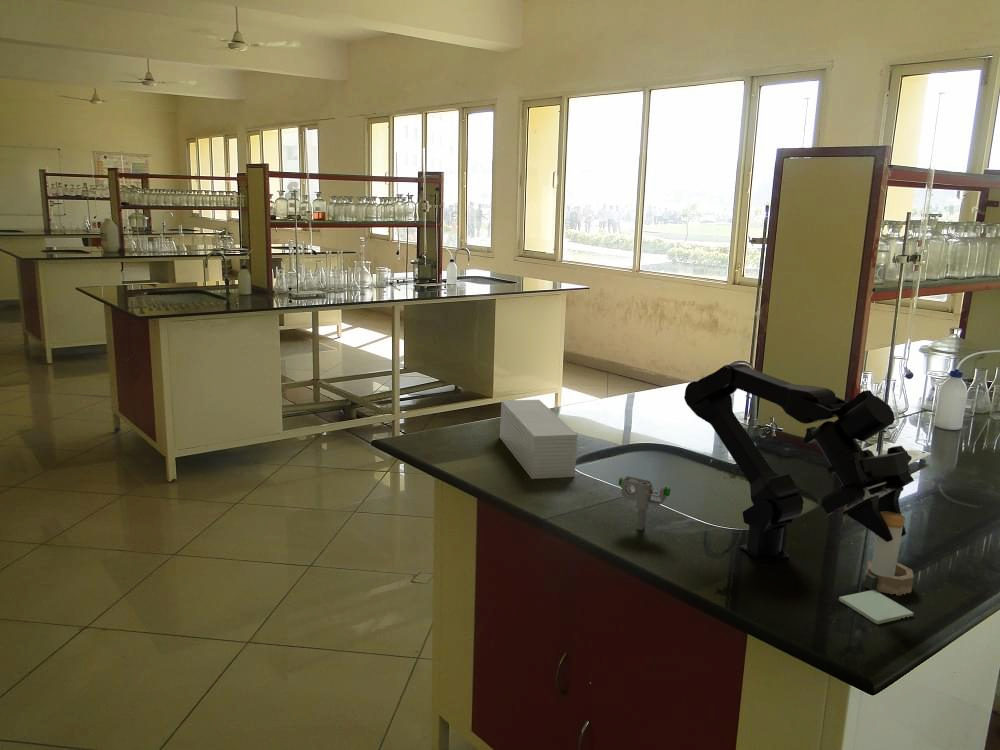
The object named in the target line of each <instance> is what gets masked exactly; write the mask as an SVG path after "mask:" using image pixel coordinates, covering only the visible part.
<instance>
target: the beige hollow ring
mask: <svg viewBox="0 0 1000 750" xmlns="http://www.w3.org/2000/svg"><path fill="white" fill-rule="evenodd" d="M866 564H867V565H866V570H865V579H864V585H863V587H864V588H866V589H867V588H868V591H871V590H875V591H877V592H879V593H885V594H888V593H889V595H893V594H896V595H895V596H903V595H902V594H904V595H907V594H906V593H909V594H911V593H912V589H913V583H914V579H915V576H914V572H913V569H911V568H909V567H907V566H905V565H904V564H902V563H899V562H897V563H896V569H895V575H894V576H893V577H883V576H879V575H876V574H874V573H873V572H872V571H871V564H872V560H867V563H866ZM910 592H911V593H910Z"/></svg>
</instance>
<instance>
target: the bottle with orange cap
mask: <svg viewBox="0 0 1000 750" xmlns="http://www.w3.org/2000/svg"><path fill="white" fill-rule="evenodd" d="M880 513H881V515H882V517H883V519H884V521H885V523H886V525H887V526H888V528H889V530H890V533H891V535H892V537H893V540H891V541H889V542H886V541H885V540H883V539H882V538H881V537H879V536H878V535H876V534H875V535H876V536H875V541H874V545H873V554H872V559H871V561H872V564H871V571H872V572H873V573H874V574H876V575H879V576H883V577H893V576H894V575H895V569H896V563H898V558H899V557H898V556H899V550H900V545H901V539H902V537H901V535H902V529H903V526H904V527H905V521H906V518H905V516H904V515H902V514H901V515H900V514H898V513H895V512H890V511H882V512H880Z"/></svg>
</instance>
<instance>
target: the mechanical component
mask: <svg viewBox="0 0 1000 750" xmlns="http://www.w3.org/2000/svg"><path fill="white" fill-rule="evenodd" d="M618 485H619V486H620V488H621V491H620V492H621V496H623V498H625V499H628V500H631V501H635V502H636V505H635V508H636V509H637V518H636V520H637V521H636V529H637V530H639V531H642V530H644V529H645V527H646V516H647V511H648V510H649V509H650V506H649V505H652V506H660V505H662V503H664V502H665V500H666V499H667V497H669V496H670V494H671V488H669V487H667V485H662V486H661V487H660V489H659V490H656V489H655V487H654V485H653V482H652V481H650V480H647V479H642V478H639V477H633V476H629V475H626V476H625V477H620V478H619V479H618ZM632 487H633V488H634V489H633V488H632ZM655 497H656V498H655Z"/></svg>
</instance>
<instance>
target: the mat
mask: <svg viewBox="0 0 1000 750" xmlns="http://www.w3.org/2000/svg"><path fill="white" fill-rule="evenodd" d="M838 601H839V602H841V603H842V604H844V605H845V606H847V607H849V608H850V609H852V610H854V611H855V612H857V613H858V614H860V615H862V616H864V618H866V619H868V620H869V621H871V622H872V623H874V624H876V625H881V624H884V623H889V622H892V621H898V620H901V618H903V619H906V618H905V617H907V618H911V617H914V612H913V611H911V610H909V609H908V608H906V607H904V606H903V605H901V604H899V603H898V602H896V601H894V600H893V599H891V598H889V597H887V596H886V595H884V594H882V592H879V591H878V590H866V591H861V592H857V593H852V594H847V595H843V596H838ZM910 616H911V617H910Z"/></svg>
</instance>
